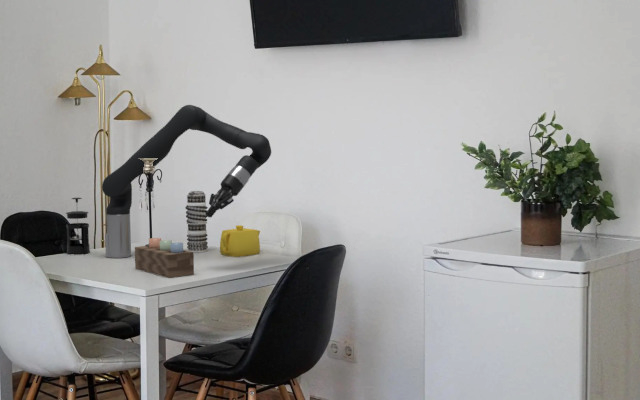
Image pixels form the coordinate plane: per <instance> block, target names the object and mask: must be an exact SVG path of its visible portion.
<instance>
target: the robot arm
mask: <svg viewBox="0 0 640 400" xmlns="http://www.w3.org/2000/svg"><path fill="white" fill-rule="evenodd" d="M188 130H191V131H200V132H204V133H207V134H209V135H212V136H214V137H216V138H218V139H220V140H221V141H223V142H225V143H226V144H228V145H230V146H233V147H235V148H237V149H239V150H245V149H247V148H249V149H251V153H250V154H246V155H243V156H241V158H240V159H239V160H238V162H237V163H236V165H234V166H233V167H232V168H231V170H229V172H228V173H227V174H226V176H225V177H224V178H223V180H222V181H221V182H220V186H221V187H220V189H219V190H218V191H217V192H216V193H215V194H214V193H211V195H210V197H209V201H208V202H209V203H208V205H209V206H210V207H208V208H207V212H206V213H205V214H206V215H207V217H206V218H212V217H213V216H214V215H215V213H216V212H217V211H219V210H223V209H224V208H226V207H228V205H231V204H232V203H233V202H234V198H233V197H237V196H238V195H239V194H240V192H241V191H242V189H243V188H245V186H246V185H247V183H248V182H249V180H250V179H251V177H252V176H253V174H254V173H255V172H256V170H258V169H259V168H260V167H261V166H263V165H264V164H265V163H266V162H268V160H269V159H270V157H271V156H272V148H271V144H270V140H269V138H267V137H266V136H265V135H263V134H260V133H256V132H251V131H250V132H249V131H246V130H243V129H242V128H239V127H237V126H235V125H232V124H229V123H227V122H223V121H222V120H220V119H218V118H216V117H214V116H213V115H211V114H210V113H208V112H207V111H205V109H202V108H201V107H200V106H196V105H192V104H186V105H183V106H182V107H180V109H179V110H177V112H176V113H175V114H174V115H173V116H172V117H171V118H170V120H169V121H168V122H166V124H165V125H164V126H163V127H162V128H160V130H158V131H157V132H156V133H155V134H154V135H153V136H152V137H150V138H149V139H148V140H147V141H145V143H144V144H143V145H141V146H140V148H138V149H137V151H136V152H134V154H132V155H131V157H129V158H128V159H127V160H126V161H125V162H124V163H123V164H122V165H121V166H119V167H118V168H117V169H115V170H114V171H113V172H111V173H110V174H108V175H107V176H106V177H105V178H104V179H103V182H102V185H101V189H102V192H103V194H104V195H105V196H107V197H109V199H110V200H109V202H108V205H107V207H106V210H105V211H106V212H105V213H106V214H105V215H106V233H105V234H104V236H105V237H104V238H105V239H104V240H105V257H106V258H113V259H118V258H119V259H120V258H122V259H123V258H129V257H131V256H132V240H131V239H132V238H131V237H132V236H131V235H132V233H131V232H132V231H131V208H132V203H133V201H132V200H133V189H132V187H133V185H132V182H133V181H134V180H135V179H136V178H138V177H140V176H141V175H142V174H143V175H144V173H143V167H144V162H143V161H142V160H140V159H138V158H158V159H157V160H155V161H154V162H153V166H154V167H156V166H157V165H158V164H160V162H162V161H163V160H164V159H165V158H166V157H168V155H169V154H170V151H171V150H172V148H173V146H174V144H175V142H176V141H177V139H178V138H179V137H181V136H182V135H183V134H184V133H185V132H187V131H188Z"/></svg>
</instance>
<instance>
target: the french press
mask: <svg viewBox="0 0 640 400" xmlns="http://www.w3.org/2000/svg"><path fill="white" fill-rule="evenodd" d="M71 200H75V203H76V206H78V203H79V200H83V198H82V197H72V198H71ZM65 214H66V216H67V217H66V218H67V219H73V220H74V219H75V220H76V222H72V223H67V224H66V225H65V226H66V237H67V238H66V239H67V244H66V255H71V254H74V255H87V254H90V253H91V250H90V244H89V243H90V242H89V241H90V239H89V227H90V223H88V222H79V219H87V218H88V214H89V212H88V211H83V210H78V208H76V210H73V211H69V212H68V211H67V212H65ZM76 229H77V230H76ZM79 229H81V230H80V232H81V235H80V234H79ZM75 230H76V231H77V235H75ZM76 241H81V243H76Z"/></svg>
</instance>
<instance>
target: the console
mask: <svg viewBox="0 0 640 400" xmlns="http://www.w3.org/2000/svg"><path fill="white" fill-rule="evenodd" d="M194 255H195V254H194V253H193V252H191V251H187V249H183V252H182V253H171V250H166V251H162V250H160V248H149V245H142V246H134V265H135V269H136V270H139V271H143V272H146V273H150V274H154V275H157V276H161V277H165V278H168V279H171V278H179V277H185V276H193V275H195V266H194V265H195V261H194V259H195V257H194Z"/></svg>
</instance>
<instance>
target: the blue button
mask: <svg viewBox="0 0 640 400" xmlns="http://www.w3.org/2000/svg"><path fill="white" fill-rule="evenodd" d="M183 250H184V242H180V241H179V242H172V243H171V253H182V252H183Z"/></svg>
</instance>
